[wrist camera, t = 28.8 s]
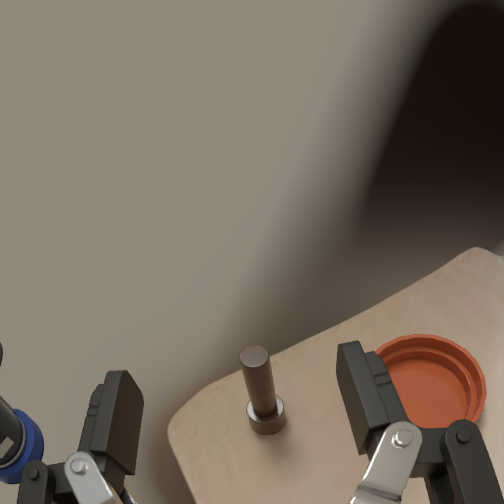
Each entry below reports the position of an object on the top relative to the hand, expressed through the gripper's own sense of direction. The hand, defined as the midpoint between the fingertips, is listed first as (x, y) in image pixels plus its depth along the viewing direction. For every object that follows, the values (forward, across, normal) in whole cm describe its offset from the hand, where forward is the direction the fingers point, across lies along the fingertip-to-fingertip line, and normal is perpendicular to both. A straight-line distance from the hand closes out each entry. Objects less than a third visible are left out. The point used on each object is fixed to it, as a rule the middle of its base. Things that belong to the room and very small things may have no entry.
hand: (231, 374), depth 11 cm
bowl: (+9, -18, +24) cm, 31 cm away
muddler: (+11, 0, +24) cm, 26 cm away
